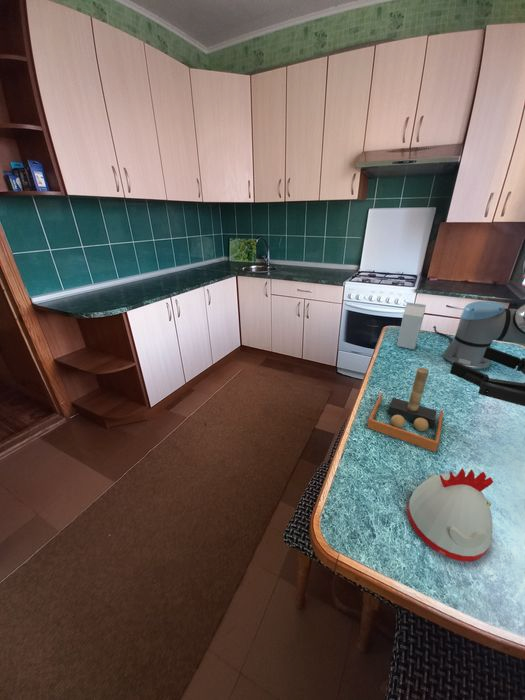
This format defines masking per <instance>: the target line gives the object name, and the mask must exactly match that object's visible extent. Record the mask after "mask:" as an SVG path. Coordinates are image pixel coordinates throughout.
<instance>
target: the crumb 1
mask: <svg viewBox="0 0 525 700" xmlns="http://www.w3.org/2000/svg"><path fill="white" fill-rule="evenodd" d="M390 423H391V424H392V425H391V426H393V427H396V428H399V429H402V428H403V427H404V426H405V424H406V420H405V419H404V418H403V417H402V416H401V415H394V416H392V417H391V419H390Z"/></svg>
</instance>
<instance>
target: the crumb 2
mask: <svg viewBox="0 0 525 700" xmlns="http://www.w3.org/2000/svg"><path fill="white" fill-rule="evenodd" d="M413 426H414V428H415V429H416V430H417V431H420V432H425V431H427V430H428V428H429V427H428V426H429V424H428V422H427V420H426V419H424V418H417V419H416V420H415V421H414V422H413Z"/></svg>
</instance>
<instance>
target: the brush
mask: <svg viewBox="0 0 525 700" xmlns="http://www.w3.org/2000/svg"><path fill="white" fill-rule="evenodd" d="M429 371H430V370H428V369H427V368H425V367H418V368H417V369H416V373H415V377H414V379H413V384H412V389H411V392H410V396H409V400H408V401H406V400H403V399H399V398H396V397H392V398H391V401H390V403H389V405H388V410H387V415H390V416H392V417H393V416H394V415H401V416H402V417H403V418H404V419H405V421H409V422H410V423H414V421H415V420H416V419H417V418H424V419H426V420H427V422H428V424H429V426H428V428H429V429H434V425H435V423H436V417H437V412H438V411H437V410H436V409H434V408H430V407H426V406H423V405H420V404H421V400H422V397H423V394H424V390H425V387H426V383H427V380H428V377H429V373H430V372H429Z"/></svg>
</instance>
